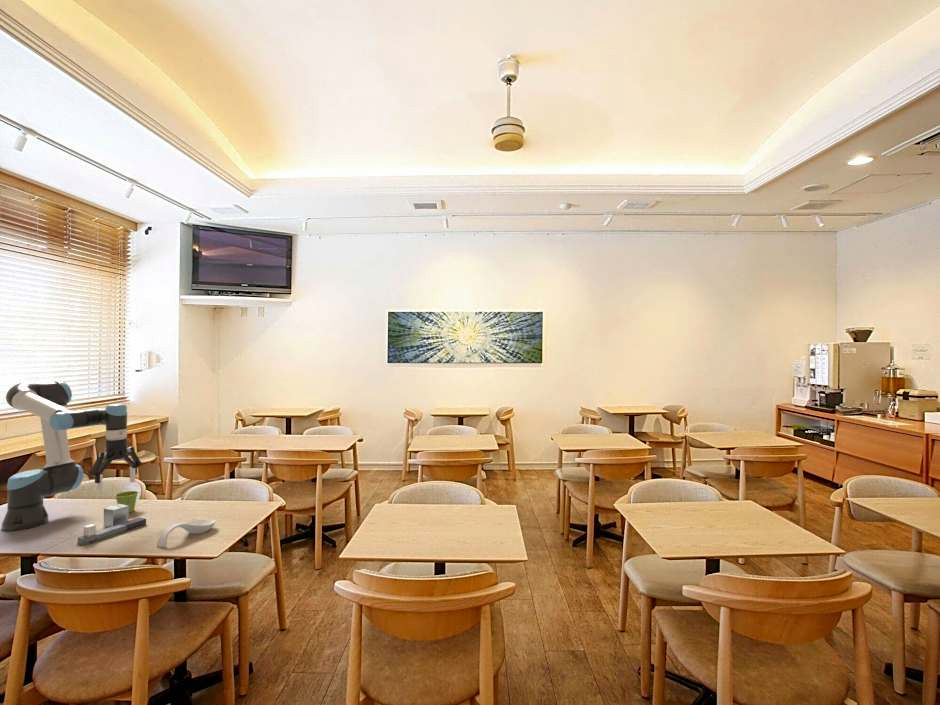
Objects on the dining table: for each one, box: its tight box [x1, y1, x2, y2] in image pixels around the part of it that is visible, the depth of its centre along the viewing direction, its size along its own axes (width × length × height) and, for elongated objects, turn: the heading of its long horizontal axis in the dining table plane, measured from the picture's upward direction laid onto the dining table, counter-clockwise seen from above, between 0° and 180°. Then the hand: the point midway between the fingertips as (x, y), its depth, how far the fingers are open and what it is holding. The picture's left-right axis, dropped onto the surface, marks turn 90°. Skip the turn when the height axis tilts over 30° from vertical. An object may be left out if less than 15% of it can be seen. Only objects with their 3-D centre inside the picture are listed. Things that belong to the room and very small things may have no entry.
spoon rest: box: [156, 518, 216, 548], centre depth 193 cm, size 24×12×7 cm, turn 162°
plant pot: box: [114, 490, 139, 513], centre depth 223 cm, size 9×9×9 cm
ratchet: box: [77, 516, 147, 546], centre depth 196 cm, size 24×5×6 cm, turn 158°
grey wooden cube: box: [103, 503, 130, 528], centre depth 206 cm, size 6×6×8 cm
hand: (116, 486), depth 206 cm, fingers open, 13 cm apart
